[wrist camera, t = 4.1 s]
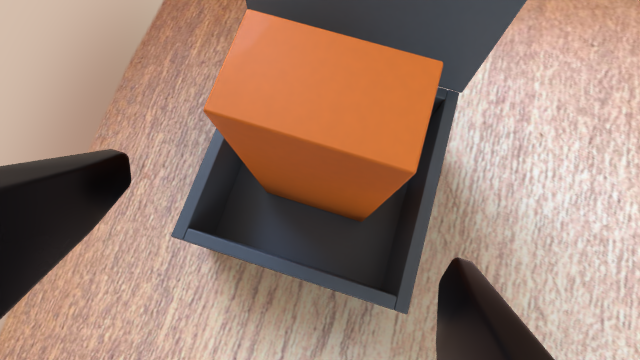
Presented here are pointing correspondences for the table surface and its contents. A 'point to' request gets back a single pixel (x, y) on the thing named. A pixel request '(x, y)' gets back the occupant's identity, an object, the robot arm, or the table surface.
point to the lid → (411, 27)
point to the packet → (323, 113)
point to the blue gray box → (320, 223)
